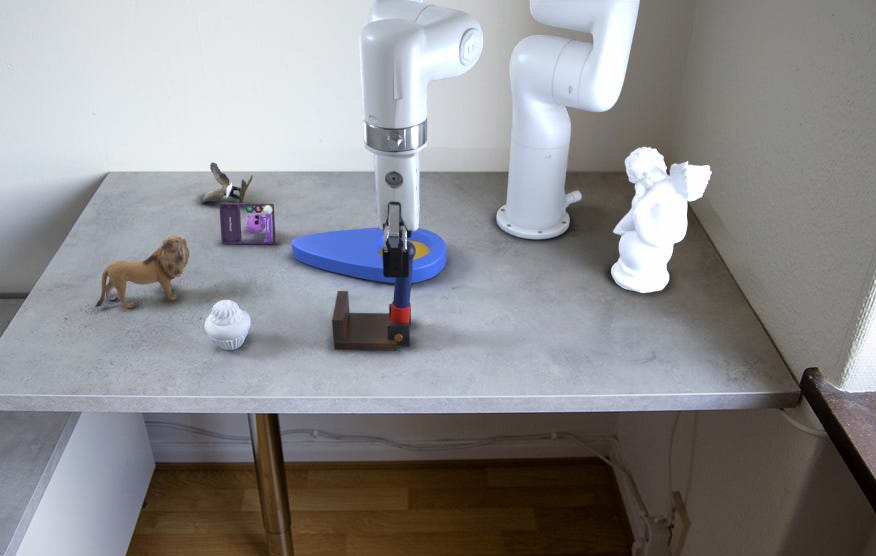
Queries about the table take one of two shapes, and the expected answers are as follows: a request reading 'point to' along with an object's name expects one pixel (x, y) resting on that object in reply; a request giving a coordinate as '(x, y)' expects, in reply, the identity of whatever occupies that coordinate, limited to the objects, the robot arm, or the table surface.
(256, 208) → the purple toy package
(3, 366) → the table surface
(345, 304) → the brown lever base
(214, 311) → the muffin
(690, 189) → the cherub figurine
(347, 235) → the location marker
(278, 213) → the table surface
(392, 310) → the blue lever handle
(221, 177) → the eagle figurine
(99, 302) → the lion figurine
